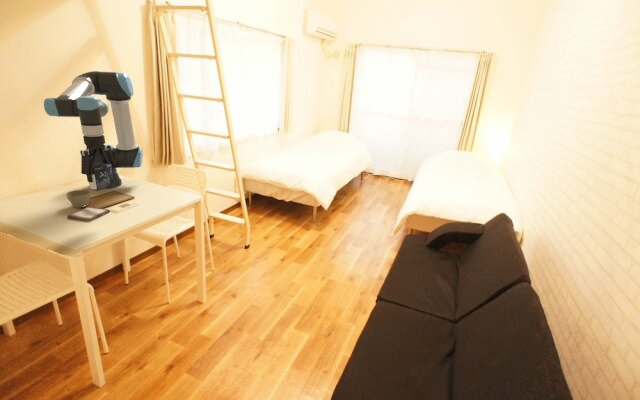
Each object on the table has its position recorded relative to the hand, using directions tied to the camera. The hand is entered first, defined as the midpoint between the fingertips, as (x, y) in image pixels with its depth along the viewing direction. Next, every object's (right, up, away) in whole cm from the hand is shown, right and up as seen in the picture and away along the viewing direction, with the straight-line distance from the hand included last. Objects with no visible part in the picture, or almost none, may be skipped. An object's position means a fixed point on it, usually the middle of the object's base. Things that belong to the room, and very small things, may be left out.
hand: (102, 185), depth 148 cm
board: (-13, -14, +10) cm, 22 cm away
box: (0, -1, 0) cm, 1 cm away
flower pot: (-23, -10, +20) cm, 32 cm away
